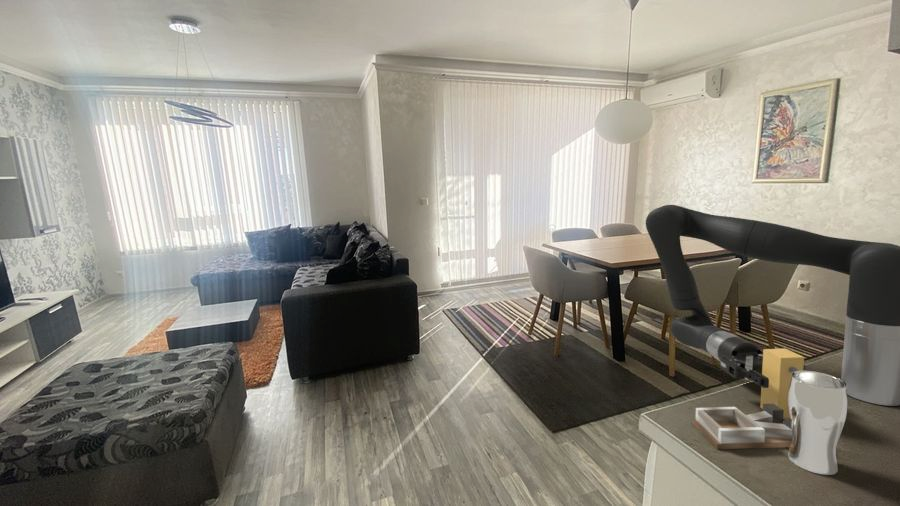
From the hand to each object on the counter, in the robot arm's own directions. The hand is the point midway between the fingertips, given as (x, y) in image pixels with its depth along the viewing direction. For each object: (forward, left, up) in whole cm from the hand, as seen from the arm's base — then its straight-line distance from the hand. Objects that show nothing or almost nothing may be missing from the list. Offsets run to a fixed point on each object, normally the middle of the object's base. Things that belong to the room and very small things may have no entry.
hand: (789, 382), depth 75 cm
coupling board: (+11, +5, -7) cm, 15 cm away
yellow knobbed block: (0, -2, -7) cm, 8 cm away
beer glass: (+6, +13, -8) cm, 16 cm away
